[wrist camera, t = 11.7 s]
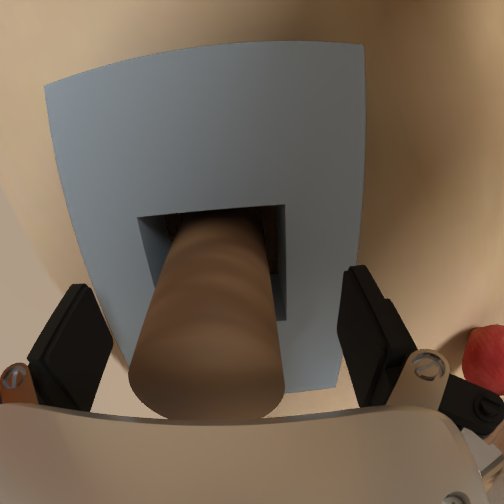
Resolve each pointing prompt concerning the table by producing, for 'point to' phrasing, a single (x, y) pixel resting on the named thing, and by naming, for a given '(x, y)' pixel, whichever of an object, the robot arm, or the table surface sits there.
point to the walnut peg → (211, 324)
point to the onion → (485, 358)
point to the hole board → (220, 175)
